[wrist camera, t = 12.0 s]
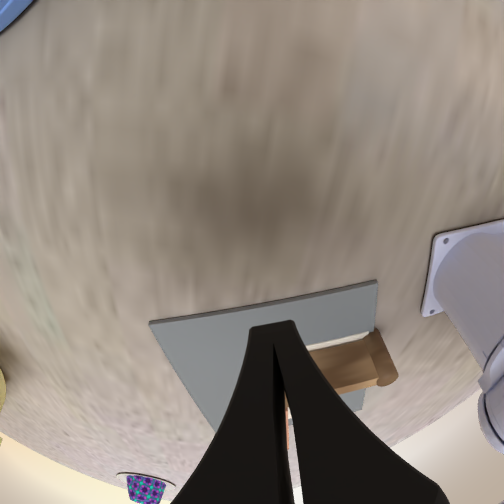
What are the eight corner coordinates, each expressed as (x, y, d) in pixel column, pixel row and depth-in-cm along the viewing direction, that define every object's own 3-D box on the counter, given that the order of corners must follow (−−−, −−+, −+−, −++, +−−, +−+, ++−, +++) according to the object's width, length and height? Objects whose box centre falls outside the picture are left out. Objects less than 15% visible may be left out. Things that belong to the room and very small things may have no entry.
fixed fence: (379, 325, 24) (400, 369, 20) (378, 339, 25) (396, 382, 21) (260, 351, 24) (265, 400, 20) (264, 364, 25) (269, 411, 21)
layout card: (376, 279, 21) (378, 284, 21) (360, 406, 31) (361, 410, 31) (149, 321, 22) (148, 325, 22) (216, 431, 32) (216, 434, 32)
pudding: (106, 472, 45) (102, 493, 41) (139, 468, 42) (136, 493, 37) (151, 489, 50) (150, 509, 46) (188, 485, 47) (187, 508, 43)
